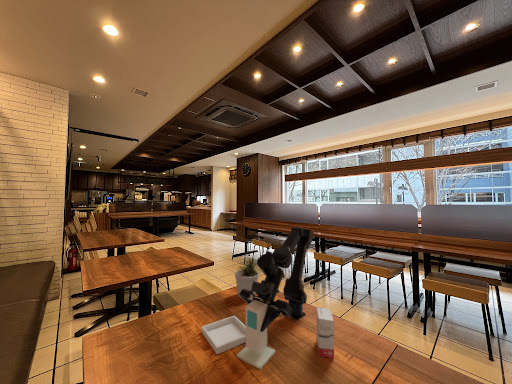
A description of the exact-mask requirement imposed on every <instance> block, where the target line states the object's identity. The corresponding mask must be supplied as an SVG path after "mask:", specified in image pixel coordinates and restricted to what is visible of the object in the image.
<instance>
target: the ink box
mask: <svg viewBox="0 0 512 384" xmlns="http://www.w3.org/2000/svg"><path fill="white" fill-rule="evenodd" d="M334 324H335V322H334V318H333V314H332V311H331V308H326V307H325V308H324V307H316V344H317V351H318V356H319V357H322V358H330V359H334V358H335V341H334V339H335V337H334V336H335V335H334V334H335V333H334V332H335V330H334V326H335V325H334Z"/></svg>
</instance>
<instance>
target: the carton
mask: <svg viewBox="0 0 512 384" xmlns="http://www.w3.org/2000/svg"><path fill="white" fill-rule="evenodd" d="M266 314H267V304H265V303H262V302H259V301H256V300H254V301H253V302H251V303H250V304H247V305H245V326H246V342H245V347H247V348H249V349H251V350H253V351H255V352H257V353H260V351H261V350H262V349H263V348H264V347H265V346H268V327H267V328H266V329H265V330H264V331H263V332H261V331H260V330H261V326H262V324H263V321H264V319H265V316H266Z"/></svg>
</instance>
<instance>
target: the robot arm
mask: <svg viewBox="0 0 512 384" xmlns="http://www.w3.org/2000/svg"><path fill="white" fill-rule="evenodd" d="M290 229H291V230H290V232H289V234H288V236H287V237H286V239H285V240H284V242H283V243H282V245H281V246H279V247H277V248H275V250H274V251H268V250H267V251H266V252H265V253H263V254H262V255H260V256H259V257H258V258H257V260H256V263H257V264H256V265H257V267H258V268H259V270H260V272H262V274H263V275H265V278H264V279H262V280H261V281H260V282H258V281H257V282H253V284H252V288H251V291H250V290H247V289H242V290H241V291H240V293H239V296H240V297H241V298H240V297H239V296H238V297H239V298H240V299H242V300H243V301H244V302H245V303H246V304H247V305H248V304H250V303H251V302H253V301H254V300H256V301H259V302H262V303H265V304H267V314H266V316H265V319H264V321H263V324H262V326H261V330H260V331H261V332H263V331H264V330H265V329H266V328H267V329H268V327H269V326H270V325H271V324H272V323H273V322H274V321H275V320H276V319H277V318H281V317H282V316H284V317H287V318H293V319H295V320H296V321H297V320H300V319H301V318H302V317H304V316H306V312H304V311H303V309H304V308H303V305H305V304H307V300H308V299H307V298H308V295H307V293H306V292H305V285H304V283H303V280H302V279H303V273H304V268H305V261H306V256H307V249H308V247H309V246H310V245H312V242H313V239H314V236H315V234H314V233H315V232H314V231H313V230H312V228H303V227H301V226H300V227H299V226H293V227H291V228H290ZM294 250H295V254H294V259H293V256H292V254H293V252H294ZM292 261H293V264H292ZM291 264H292V268H291V269H292V270H291V273H290V277H288V278H286V276H285V275H286V274H285V273H284V269H288V268H289V267H291ZM284 278H285V282H284V283H285V284H284V286H283V290H282V292H283V297H284V298H283V299H284V300H282V299H279V298H278V299H276V297H277V294H279V292H280V289H279V288H280V285H281V282H282V279H284ZM252 292H255V295H254V294H253V293H252ZM285 300H286V301H285Z"/></svg>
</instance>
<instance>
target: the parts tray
mask: <svg viewBox="0 0 512 384" xmlns="http://www.w3.org/2000/svg"><path fill="white" fill-rule="evenodd" d="M201 333H202V335H203V336H204V338H205V339H206V341H207V342H208V344H209V345H210V346H211V348H212V349H213V351H214V353H216V355H219V354H221V353H224V352H226V351H228V350H231V349H233V348H235V347H238V346H240V345H242V344H244V343H245V344H246V324H245V323H243V322H242V321H241V320H240V319H239V318H238V317H237V316H236V315H233V316H229V317H226V318H223V319H220V320H217V321H215V322H211V323H209V324H205V325H202V326H201Z"/></svg>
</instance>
